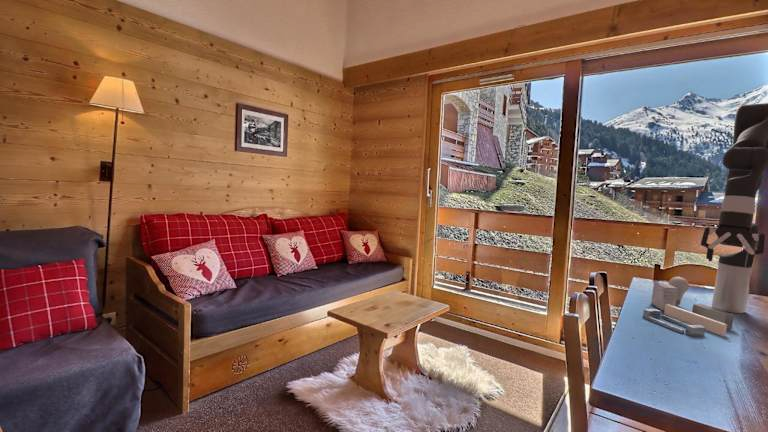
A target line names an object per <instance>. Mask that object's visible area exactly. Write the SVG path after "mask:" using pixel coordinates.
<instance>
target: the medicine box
mask: <svg viewBox="0 0 768 432" xmlns="http://www.w3.org/2000/svg"><path fill="white" fill-rule="evenodd" d="M677 291H678V289H677V288H675V287H673V286H671V285H669V283H666V282H660V281H658V282H657V281H656V282H653V288H652V295H651V305H653V306H654V307H656V308H658V310H660V311H664V312H665V305H666V304H669V305H672V306H675V307H677V305H676V299H677Z"/></svg>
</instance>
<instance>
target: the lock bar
mask: <svg viewBox="0 0 768 432" xmlns="http://www.w3.org/2000/svg"><path fill="white" fill-rule="evenodd" d="M691 312H693V313H696V314H698V315H701V316H704V317H707V318H710V319H713V320H716V321H719V322H722V323H725V324H727V329H726V331H728V330H732V328H733V322H734V318H735V317H734V316H735V313H731V312H727V311H723V310H719V309H716V308H714V307H712V306H708V305H705V304H702V303H695V304H692V309H691Z"/></svg>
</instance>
